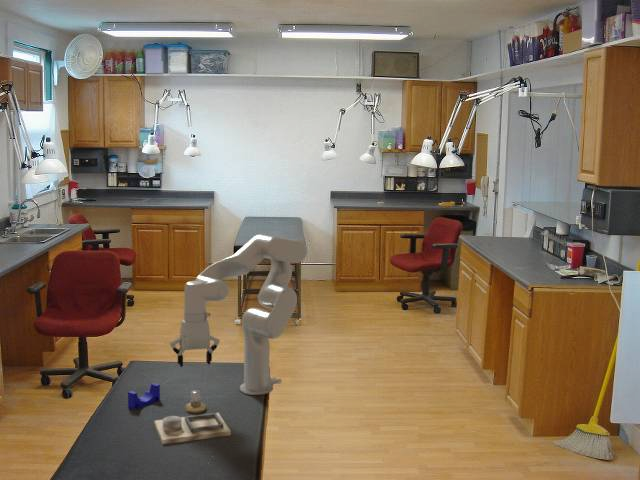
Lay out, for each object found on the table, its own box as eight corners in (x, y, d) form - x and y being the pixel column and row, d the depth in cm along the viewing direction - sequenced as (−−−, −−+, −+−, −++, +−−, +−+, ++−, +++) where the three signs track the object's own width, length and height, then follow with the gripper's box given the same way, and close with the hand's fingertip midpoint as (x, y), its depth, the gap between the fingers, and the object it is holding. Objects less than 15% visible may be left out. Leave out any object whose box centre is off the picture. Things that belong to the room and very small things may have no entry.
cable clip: (151, 397, 278) (151, 381, 277) (159, 400, 275) (159, 384, 274) (125, 407, 268) (125, 390, 267) (133, 410, 266) (133, 394, 265)
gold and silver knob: (203, 404, 272) (203, 387, 271) (207, 412, 266) (207, 394, 264) (183, 407, 269) (183, 389, 268) (187, 414, 263) (187, 396, 262)
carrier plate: (218, 416, 261) (218, 404, 261) (230, 435, 247) (230, 422, 246) (154, 424, 253) (154, 412, 253) (162, 444, 239) (162, 430, 238)
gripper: (217, 312, 268) (216, 359, 271) (168, 315, 262) (167, 363, 265) (222, 318, 262) (221, 365, 264) (172, 321, 255) (171, 370, 258)
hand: (194, 364), depth 264 cm, fingers open, 9 cm apart
